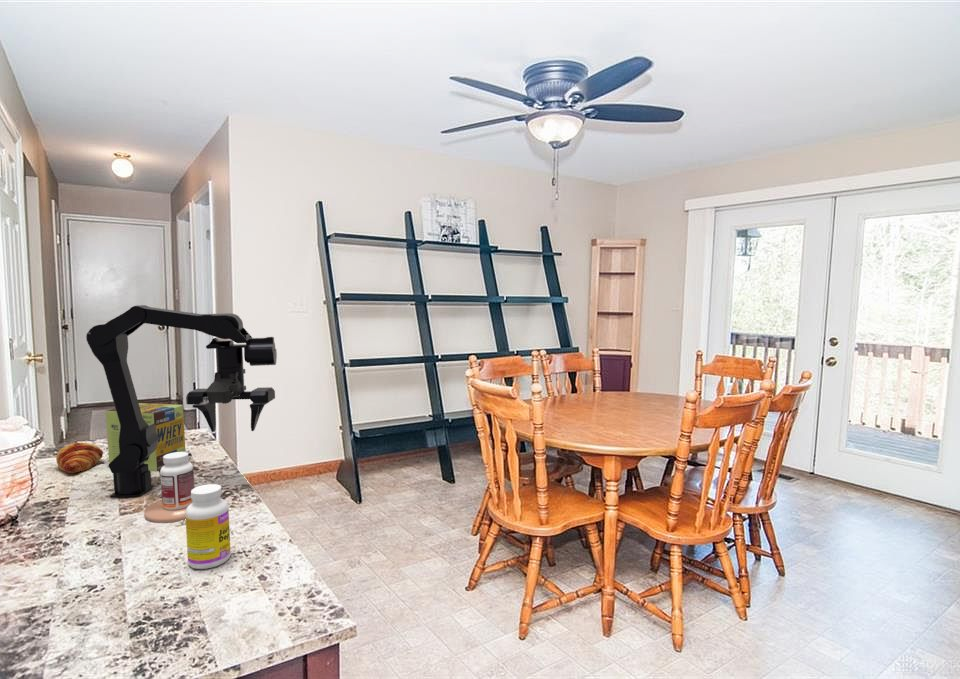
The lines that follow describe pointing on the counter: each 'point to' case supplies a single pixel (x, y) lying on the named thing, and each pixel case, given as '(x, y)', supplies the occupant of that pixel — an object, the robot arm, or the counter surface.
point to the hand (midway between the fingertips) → (233, 431)
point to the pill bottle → (176, 481)
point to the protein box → (167, 430)
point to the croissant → (78, 457)
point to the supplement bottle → (207, 528)
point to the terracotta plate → (163, 513)
